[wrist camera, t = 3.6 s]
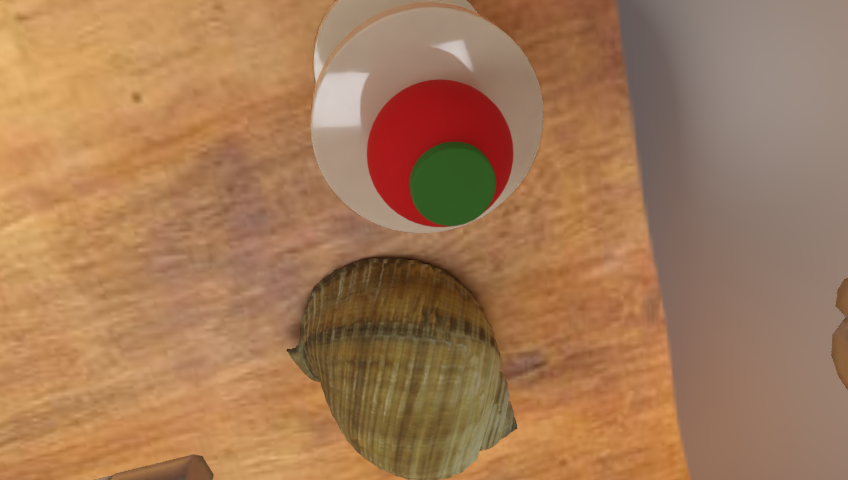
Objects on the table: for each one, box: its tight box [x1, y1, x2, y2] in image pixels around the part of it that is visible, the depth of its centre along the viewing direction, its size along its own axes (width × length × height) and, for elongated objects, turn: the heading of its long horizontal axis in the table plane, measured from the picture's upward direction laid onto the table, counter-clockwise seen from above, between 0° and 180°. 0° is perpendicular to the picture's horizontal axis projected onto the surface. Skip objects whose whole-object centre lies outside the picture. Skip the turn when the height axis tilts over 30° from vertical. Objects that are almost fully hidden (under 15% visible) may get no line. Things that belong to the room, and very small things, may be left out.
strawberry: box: [367, 79, 514, 227], centre depth 16 cm, size 3×3×4 cm
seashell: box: [287, 258, 517, 480], centre depth 27 cm, size 10×7×8 cm
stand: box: [311, 0, 544, 233], centre depth 20 cm, size 6×6×7 cm
